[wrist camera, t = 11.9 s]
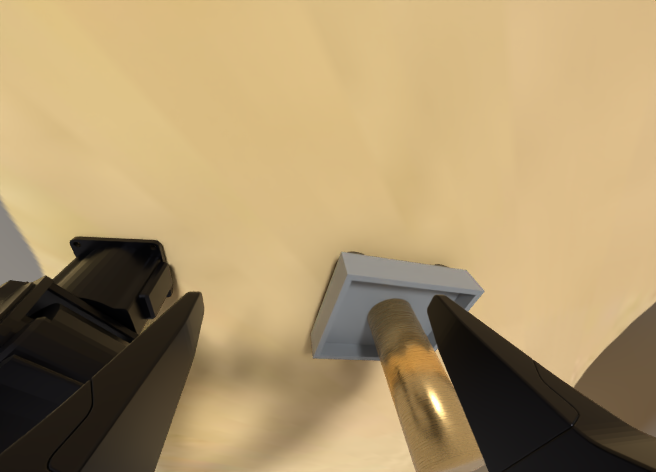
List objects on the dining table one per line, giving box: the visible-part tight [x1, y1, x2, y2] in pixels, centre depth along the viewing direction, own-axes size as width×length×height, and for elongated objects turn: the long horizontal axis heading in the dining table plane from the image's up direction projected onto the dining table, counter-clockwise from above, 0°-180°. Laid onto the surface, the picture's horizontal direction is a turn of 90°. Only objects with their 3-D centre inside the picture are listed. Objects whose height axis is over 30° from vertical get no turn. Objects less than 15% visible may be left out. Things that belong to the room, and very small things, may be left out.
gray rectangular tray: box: [311, 252, 484, 361], centre depth 28 cm, size 14×12×4 cm
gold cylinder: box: [367, 298, 485, 472], centre depth 22 cm, size 5×5×12 cm
